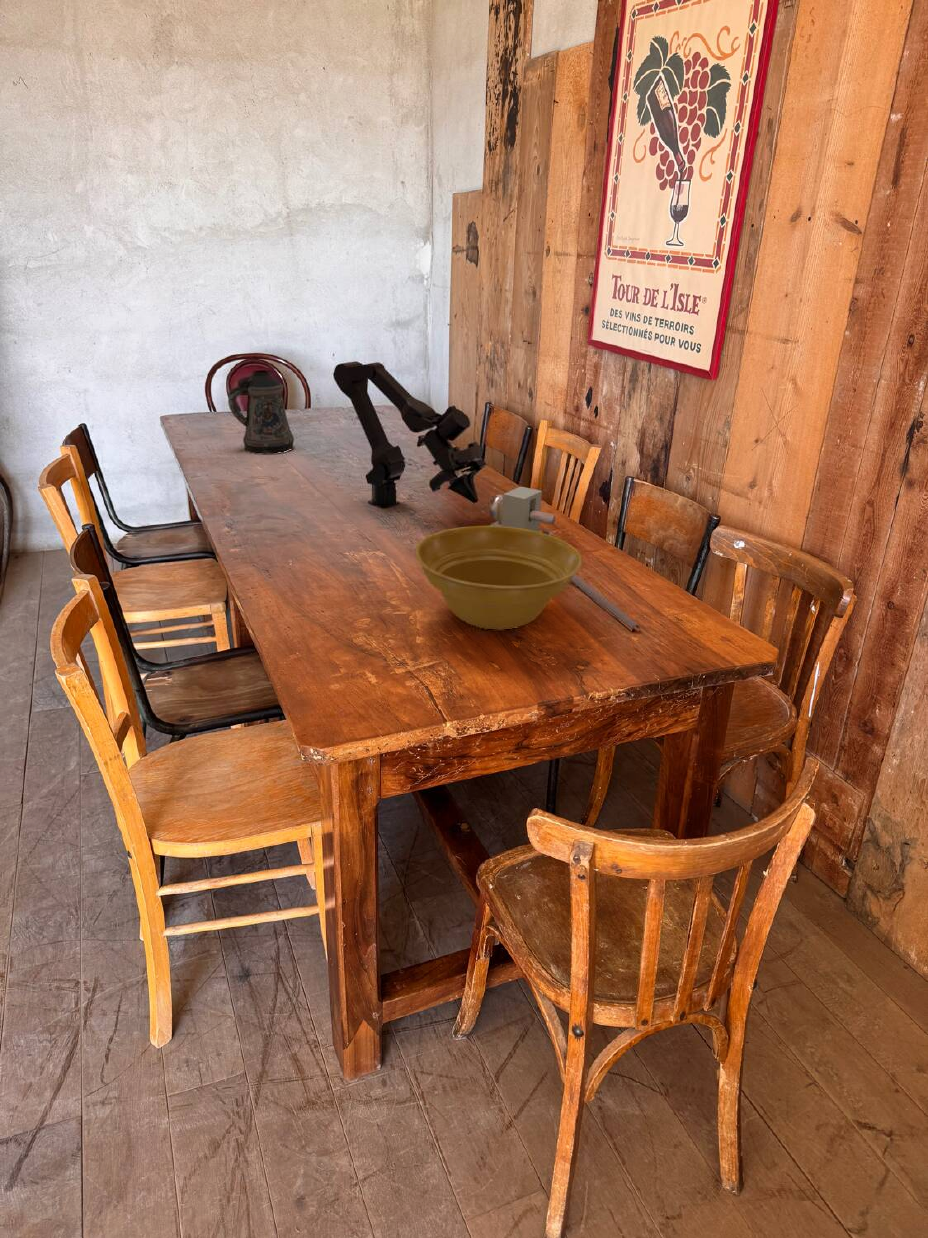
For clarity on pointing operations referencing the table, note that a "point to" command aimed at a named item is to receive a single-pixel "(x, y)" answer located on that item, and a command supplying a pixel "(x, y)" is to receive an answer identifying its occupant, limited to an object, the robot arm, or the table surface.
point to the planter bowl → (497, 572)
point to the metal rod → (603, 602)
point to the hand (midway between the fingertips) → (476, 502)
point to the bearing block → (521, 509)
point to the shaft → (532, 513)
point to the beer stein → (262, 413)
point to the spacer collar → (500, 512)
